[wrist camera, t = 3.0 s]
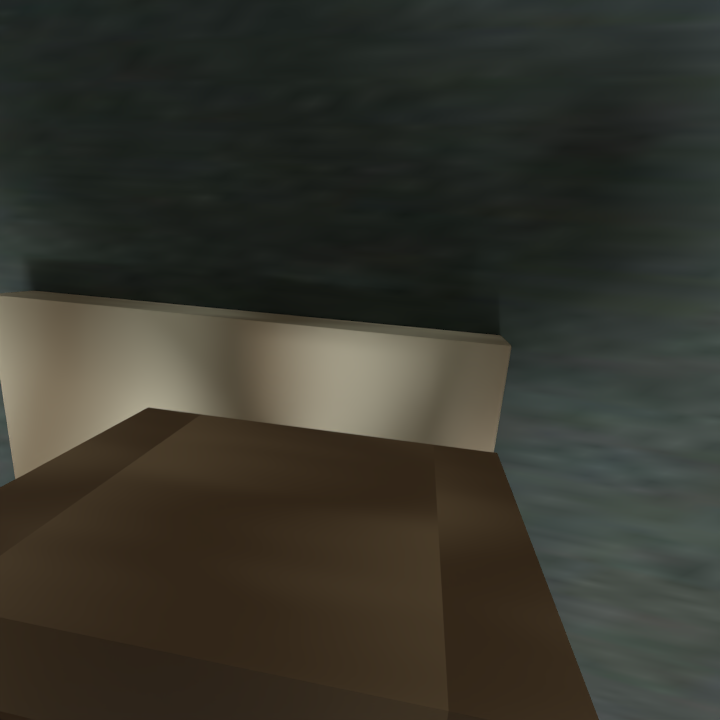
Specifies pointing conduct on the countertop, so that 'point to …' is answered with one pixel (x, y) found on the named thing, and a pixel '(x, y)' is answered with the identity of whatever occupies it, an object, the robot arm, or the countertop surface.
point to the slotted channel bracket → (274, 581)
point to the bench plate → (236, 372)
